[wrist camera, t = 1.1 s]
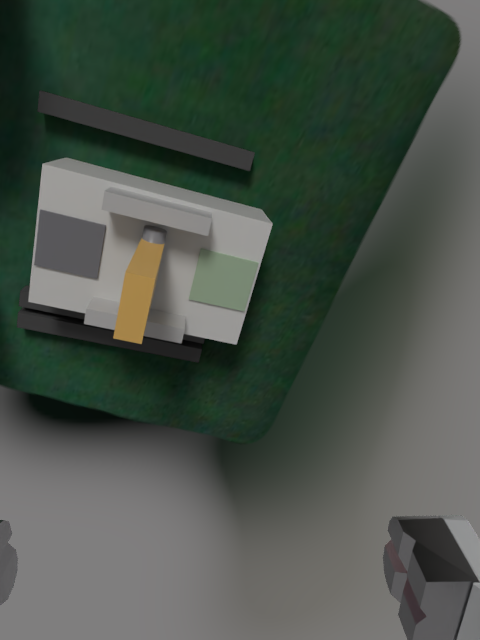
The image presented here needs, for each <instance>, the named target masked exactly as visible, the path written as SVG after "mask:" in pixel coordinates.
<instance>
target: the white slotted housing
mask: <svg viewBox="0 0 480 640" xmlns="http://www.w3.org/2000/svg"><path fill="white" fill-rule="evenodd" d="M145 225H150V226H156V227H159V228H162V229H165V230H166V231H167V235H166V239H165V244H164V249H163V253H162V258H161V263H160V268H159V272H158V277H157V282H156V286H155V291H154V296H153V300H152V305H151V308H150V312H149V316H148V320H147V324H146V328H145V332H144V336H146V337H151V338H156V339H161V340H166V341H171V342H176V343H182V339H183V335H184V334H187V335H192V336H197V337H202V338H206V339H211V340H216V341H221V342H226V343H231V344H235V345H237V342H238V338H239V335H240V332H241V328H242V325H243V322H244V318H245V315H246V312H247V308H248V305H249V302H250V298H251V295H252V291H253V288H254V285H255V281H256V278H257V275H258V271H259V268H260V265H261V261H262V258H263V255H264V251H265V248H266V245H267V241H268V238H269V234H270V231H271V228H272V222H271V221H270V220H269V218H268V217H267V216H266V215H265V213H264V212H263V211H262V209H258V208H254V207H250V206H247V205H243V204H239V203H235V202H231V201H228V200H224V199H220V198H216V197H213V196H209V195H205V194H201V193H198V192H194V191H190V190H186V189H183V188H179V187H175V186H171V185H168V184H164V183H160V182H156V181H153V180H149V179H145V178H141V177H138V176H134V175H130V174H126V173H123V172H119V171H115V170H111V169H108V168H104V167H100V166H96V165H93V164H89V163H85V162H81V161H77V160H74V159H70V158H63V159H59V160H55V161H51V162H47V163H43V164H42V173H41V183H40V193H39V202H38V212H37V222H36V231H35V241H34V251H33V260H32V270H31V279H30V289H29V299H28V302H32V303H37V304H42V305H46V306H51V307H56V308H61V309H66V310H71V311H75V312H80V313H85V319H84V324H87V325H92V326H97V327H102V328H107V329H112V330H115V325H116V320H117V315H118V309H119V304H120V298H121V293H122V287H123V282H124V277H125V272H126V270H127V268H128V265H129V263H130V261H131V259H132V257H133V255H134V253H135V251H136V249H137V246H138V244H139V242H140V240H141V238H142V234H143V229H144V226H145Z"/></svg>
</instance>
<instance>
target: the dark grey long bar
mask: <svg viewBox="0 0 480 640" xmlns="http://www.w3.org/2000/svg"><path fill="white" fill-rule="evenodd" d="M38 112H41V113H45V114H48V115H52V116H55V117H59V118H63V119H66V120H70V121H73V122H77V123H80V124H84V125H87V126H91V127H95V128H98V129H102V130H105V131H109V132H112V133H116V134H119V135H123V136H127V137H130V138H134V139H137V140H141V141H144V142H148V143H151V144H155V145H159V146H162V147H166V148H169V149H173V150H176V151H180V152H183V153H187V154H191V155H194V156H198V157H201V158H205V159H208V160H212V161H215V162H219V163H223V164H226V165H230V166H233V167H237V168H240V169H244V170H247V171H250V168H251V165H252V161H253V157H254V154H255V153H254V152H251V151H248V150H245V149H241V148H238V147H234V146H231V145H227V144H224V143H220V142H217V141H214V140H210V139H207V138H203V137H200V136H196V135H193V134H189V133H186V132H182V131H179V130H176V129H172V128H169V127H165V126H162V125H158V124H155V123H151V122H148V121H145V120H141V119H138V118H134V117H131V116H127V115H124V114H120V113H117V112H113V111H110V110H107V109H103V108H100V107H96V106H93V105H89V104H86V103H82V102H79V101H76V100H72V99H69V98H65V97H62V96H58V95H55V94H51V93H48V92H44V91H39V101H38Z"/></svg>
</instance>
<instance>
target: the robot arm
mask: <svg viewBox="0 0 480 640" xmlns="http://www.w3.org/2000/svg"><path fill="white" fill-rule="evenodd" d="M388 532H389V534H390V537H391V541H389V542H388V543H387V544H386V545H385V548H384V555H383V563H384V573H385V578H386V582H387V585H388V588H389V591H390V593H391V595H392V596H394V597H395V598H396V599H397V600H398V601H399V602H400V603H401V604H400V609H399V613H398V615H399V618H400V621H401V623H402V626H403V629H404V632H405V634H406V636H407V640H480V539H479V538H478V536H477V535H476V533H475V531H474V530H473V528H472V527H471V525H470V524H469V522H468V520H467V519H466V518H465V517H463V516H462V515H452V516H400V517H399V516H398V517H392V518H391V520H390V522H389V526H388ZM11 535H12V531H11V528H10V524H9V522H8V521H4V520H0V605H1V604H3V603H4V602H5V601H6V600H7V599H8V597H9V595H10V593H11V590H12V588H13V586H14V582H15V578H16V573H17V561H18V560H17V554H16V550H15V549H14V548H13V547H12V546H11V545H10V544H8V541H9V539H10V537H11Z"/></svg>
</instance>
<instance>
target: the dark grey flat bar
mask: <svg viewBox="0 0 480 640" xmlns="http://www.w3.org/2000/svg"><path fill="white" fill-rule="evenodd" d="M29 289H30V286H25V287H24V288H23V289H22V290H21V291H20V299H19V306H21V307H23V308H22V309H21V310H20V311H19V312H18V320H17V327H19V328H24V329H29V330H34V331H39V332H44V333H49V334H54V335H60V336H65V337H70V338H75V339H80V340H85V341H90V342H95V343H100V344H106V345H111V346H116V347H121V348H126V349H131V350H136V351H141V352H146V353H152V354H157V355H162V356H167V357H172V358H177V359H182V360H187V361H192V362H198V363H199V359H200V355H201V352H202V344H204V340H205V338H202V337H197V336H192V335H187V334H184V335H183V339H182V343H176V342H171V341H166V340H161V339H156V338H151V337H146V336H143V340H142V344H139V343H134V342H129V341H124V340H119V339H114V338H113V336H114V331H115V330H112V329H107V328H102V327H97V326H92V325H87V324H84V319H85V313H80V312H75V311H71V310H66V309H61V308H56V307H51V306H46V305H42V304H37V303H32V302H28V299H29Z"/></svg>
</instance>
